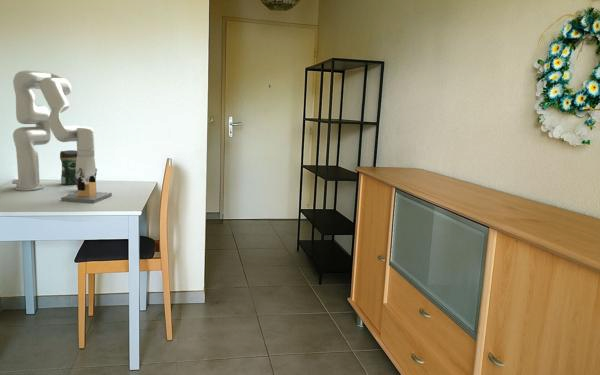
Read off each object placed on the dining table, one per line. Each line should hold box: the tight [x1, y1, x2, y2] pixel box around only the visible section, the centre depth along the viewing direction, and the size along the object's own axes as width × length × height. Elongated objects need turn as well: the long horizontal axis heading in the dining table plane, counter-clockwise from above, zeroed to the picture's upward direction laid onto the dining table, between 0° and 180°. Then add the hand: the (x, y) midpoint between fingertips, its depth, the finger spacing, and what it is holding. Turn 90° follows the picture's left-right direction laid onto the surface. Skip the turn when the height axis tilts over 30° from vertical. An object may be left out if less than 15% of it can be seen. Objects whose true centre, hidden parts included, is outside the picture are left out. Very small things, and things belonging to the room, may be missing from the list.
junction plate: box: [60, 191, 113, 204], centre depth 226 cm, size 16×17×6 cm
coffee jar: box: [59, 149, 78, 186], centre depth 257 cm, size 10×8×19 cm
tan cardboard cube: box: [76, 181, 97, 197], centre depth 226 cm, size 6×6×6 cm
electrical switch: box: [74, 177, 89, 189], centre depth 243 cm, size 9×5×9 cm, turn 171°
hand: (87, 188), depth 226 cm, fingers open, 9 cm apart
